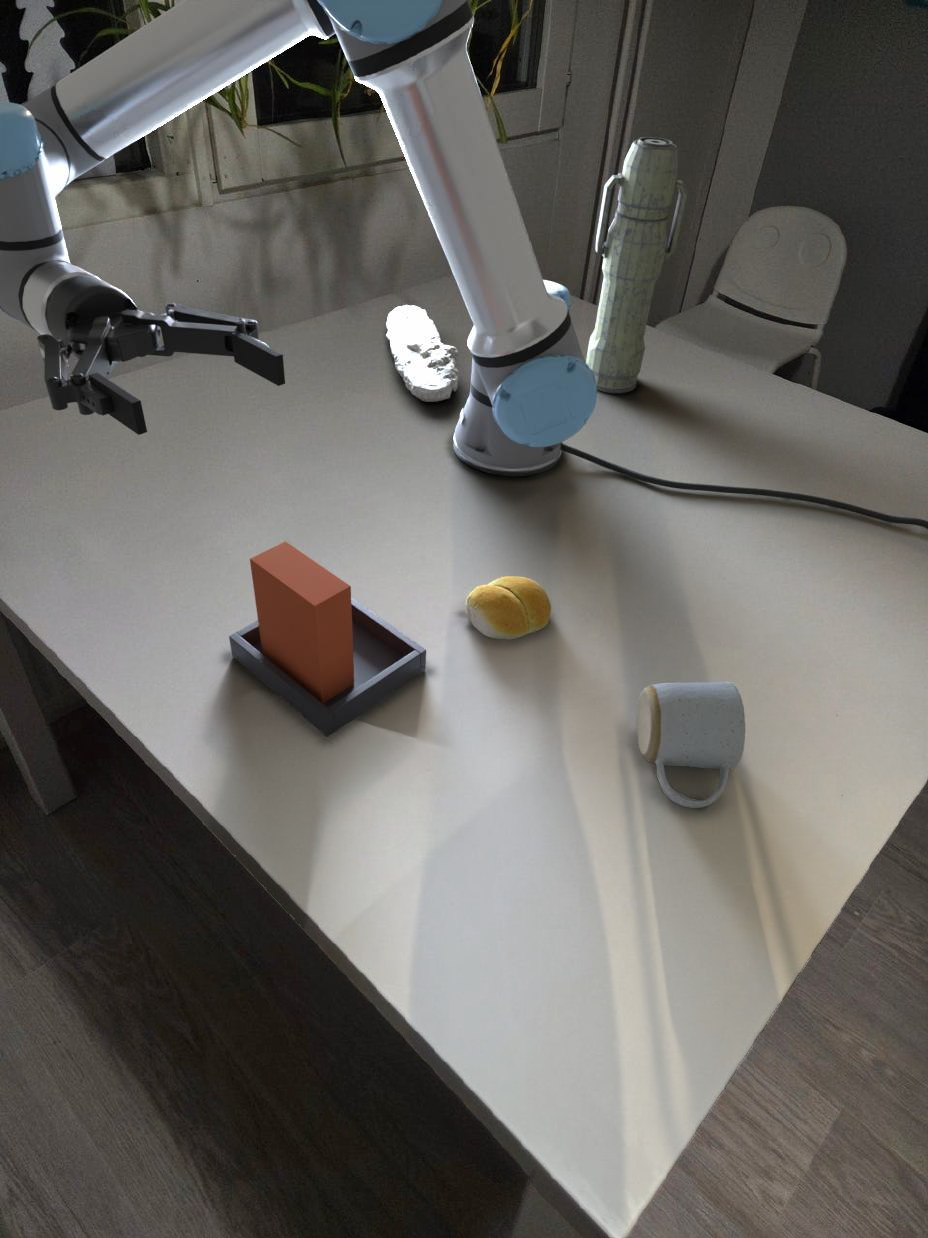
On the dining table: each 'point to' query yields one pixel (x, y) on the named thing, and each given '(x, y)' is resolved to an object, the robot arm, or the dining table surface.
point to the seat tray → (377, 670)
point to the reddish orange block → (304, 620)
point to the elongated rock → (421, 354)
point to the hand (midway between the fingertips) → (214, 392)
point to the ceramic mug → (691, 730)
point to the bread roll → (508, 607)
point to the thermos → (633, 259)
